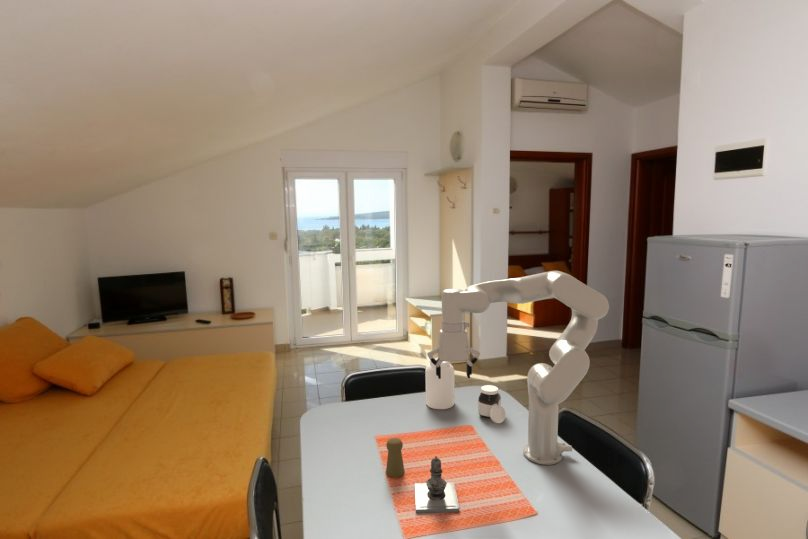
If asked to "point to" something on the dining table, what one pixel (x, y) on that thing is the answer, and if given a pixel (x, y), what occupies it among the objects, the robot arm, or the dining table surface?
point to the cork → (394, 458)
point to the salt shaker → (436, 481)
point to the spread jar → (491, 404)
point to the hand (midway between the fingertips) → (453, 377)
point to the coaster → (429, 505)
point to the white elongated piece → (440, 386)
